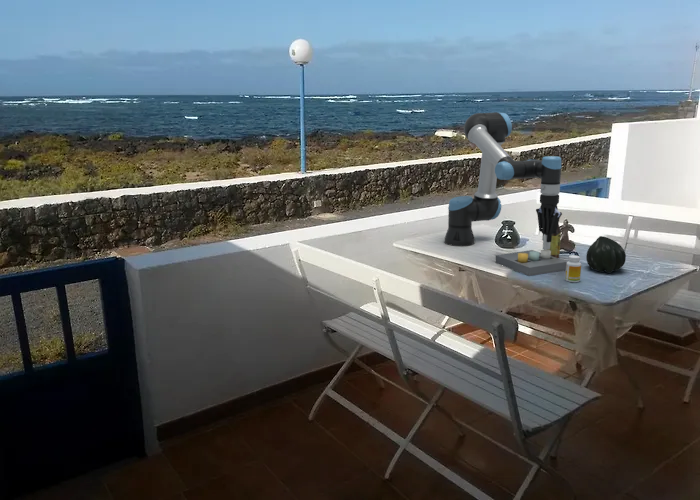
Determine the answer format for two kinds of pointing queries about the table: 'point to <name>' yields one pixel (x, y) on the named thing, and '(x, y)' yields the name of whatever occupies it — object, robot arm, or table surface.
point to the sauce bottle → (555, 243)
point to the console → (531, 264)
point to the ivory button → (545, 254)
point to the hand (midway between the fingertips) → (546, 249)
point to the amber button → (522, 257)
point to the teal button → (534, 256)
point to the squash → (605, 255)
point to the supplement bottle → (573, 269)
